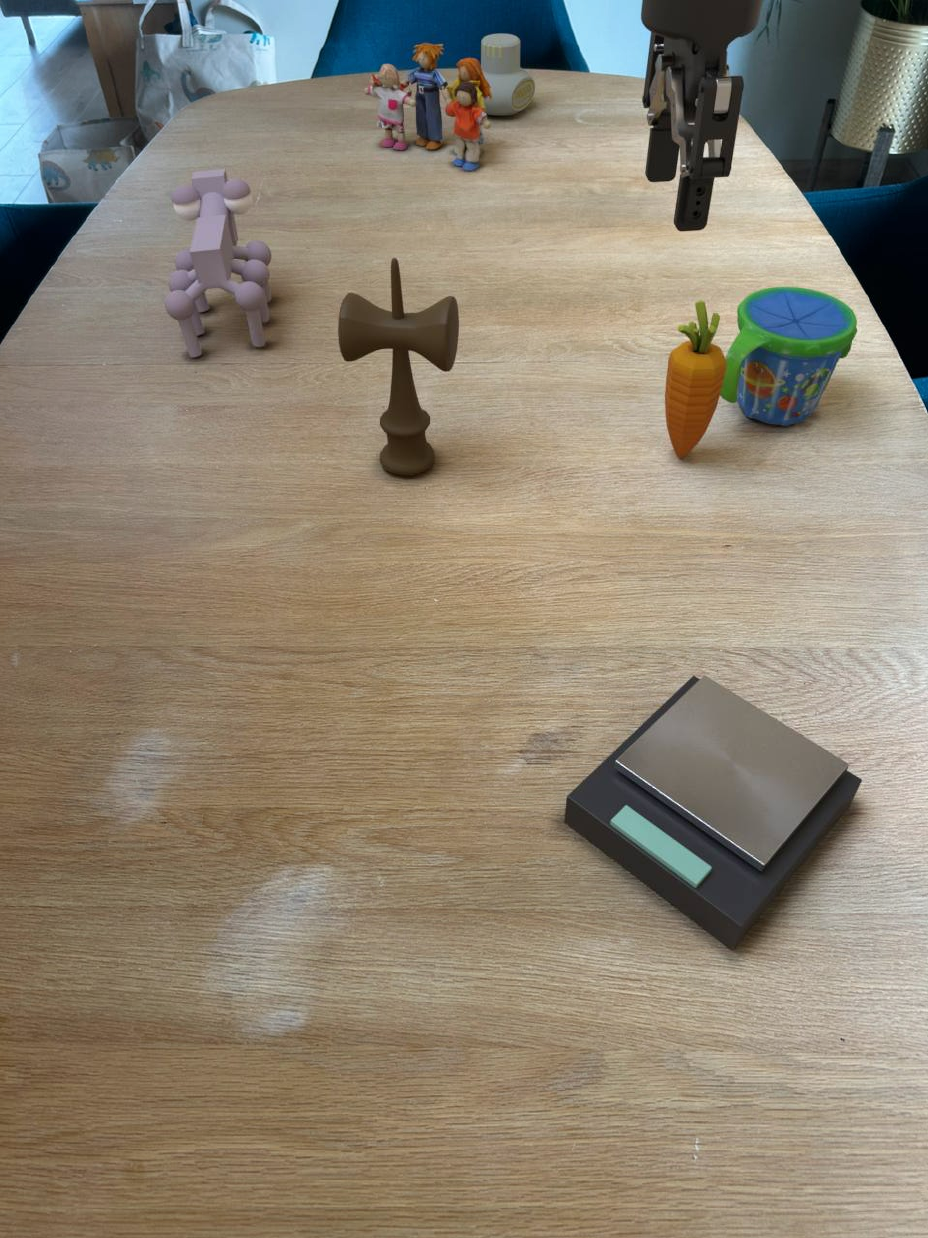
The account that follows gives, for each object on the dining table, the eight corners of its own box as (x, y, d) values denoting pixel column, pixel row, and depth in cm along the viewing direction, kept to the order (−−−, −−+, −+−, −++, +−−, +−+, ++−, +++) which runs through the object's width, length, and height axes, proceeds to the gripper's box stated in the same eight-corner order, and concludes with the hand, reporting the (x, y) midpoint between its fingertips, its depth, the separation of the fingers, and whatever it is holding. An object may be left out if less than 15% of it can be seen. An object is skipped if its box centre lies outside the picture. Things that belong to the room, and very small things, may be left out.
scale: (687, 702, 73) (694, 670, 70) (850, 805, 66) (864, 775, 64) (563, 822, 66) (566, 791, 63) (732, 951, 59) (743, 923, 57)
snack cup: (802, 361, 104) (826, 269, 97) (873, 413, 98) (904, 318, 90) (677, 400, 100) (693, 306, 92) (743, 457, 93) (765, 360, 86)
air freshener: (504, 126, 151) (505, 53, 144) (458, 115, 155) (457, 44, 147) (540, 104, 158) (543, 33, 151) (495, 94, 161) (496, 24, 154)
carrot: (702, 478, 91) (731, 328, 80) (648, 466, 92) (670, 318, 81) (712, 447, 94) (742, 299, 83) (660, 437, 95) (683, 290, 85)
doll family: (364, 143, 147) (356, 44, 138) (403, 123, 153) (398, 26, 143) (483, 175, 139) (483, 71, 129) (520, 152, 144) (523, 51, 135)
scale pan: (702, 682, 69) (704, 674, 69) (846, 771, 64) (849, 763, 63) (613, 768, 64) (614, 760, 64) (761, 872, 59) (764, 865, 58)
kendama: (453, 487, 90) (448, 279, 76) (349, 478, 91) (325, 271, 77) (463, 448, 94) (460, 243, 80) (364, 440, 96) (343, 237, 81)
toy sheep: (192, 273, 120) (166, 156, 110) (282, 268, 120) (264, 151, 111) (174, 361, 106) (142, 236, 96) (275, 355, 106) (254, 231, 97)
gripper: (809, -33, 57) (753, 244, 68) (735, -88, 67) (697, 162, 78) (679, -27, 56) (646, 250, 68) (624, -83, 66) (603, 167, 78)
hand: (673, 203), depth 73 cm, fingers open, 8 cm apart
